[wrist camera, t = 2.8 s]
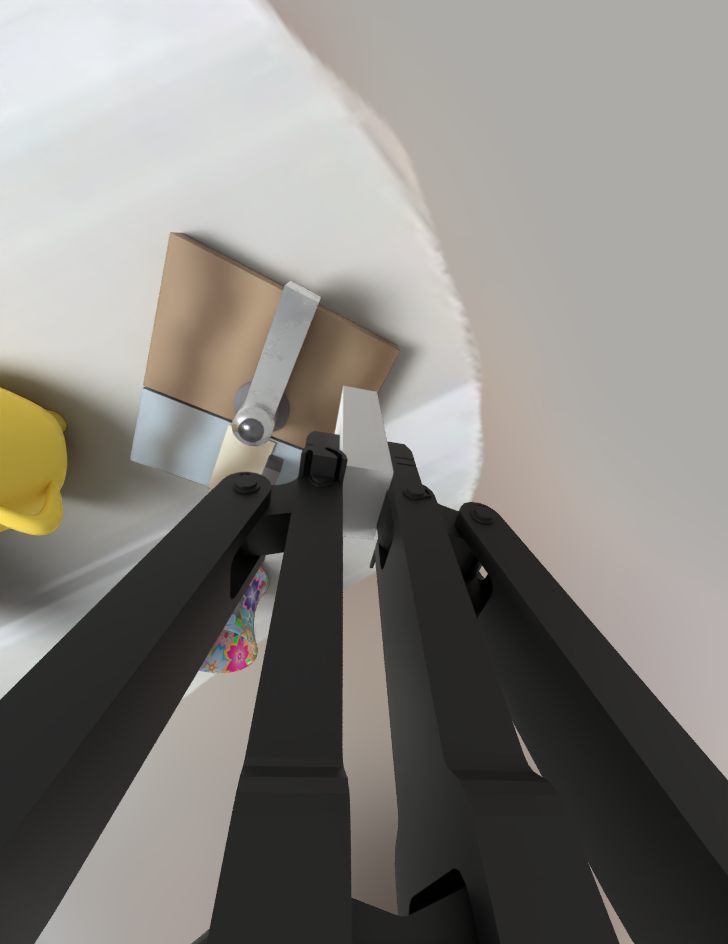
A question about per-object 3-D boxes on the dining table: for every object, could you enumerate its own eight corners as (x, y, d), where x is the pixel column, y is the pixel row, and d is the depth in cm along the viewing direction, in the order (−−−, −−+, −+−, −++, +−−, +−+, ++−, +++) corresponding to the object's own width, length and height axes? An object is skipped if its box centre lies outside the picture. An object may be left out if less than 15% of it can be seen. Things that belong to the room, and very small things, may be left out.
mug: (229, 539, 44) (201, 614, 36) (287, 574, 48) (274, 650, 40) (176, 585, 49) (139, 662, 40) (233, 614, 53) (211, 690, 44)
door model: (139, 450, 37) (116, 473, 33) (180, 232, 27) (154, 231, 23) (310, 508, 42) (307, 535, 39) (397, 345, 32) (404, 359, 29)
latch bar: (272, 430, 34) (263, 454, 30) (238, 417, 33) (225, 439, 29) (325, 299, 28) (322, 308, 24) (286, 278, 27) (276, 284, 23)
